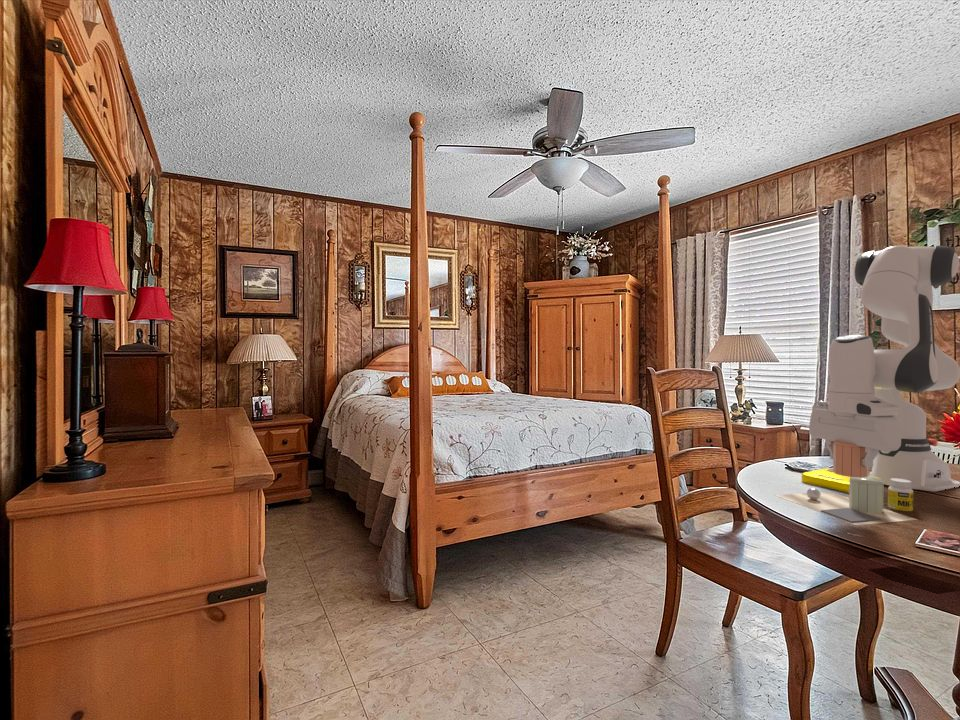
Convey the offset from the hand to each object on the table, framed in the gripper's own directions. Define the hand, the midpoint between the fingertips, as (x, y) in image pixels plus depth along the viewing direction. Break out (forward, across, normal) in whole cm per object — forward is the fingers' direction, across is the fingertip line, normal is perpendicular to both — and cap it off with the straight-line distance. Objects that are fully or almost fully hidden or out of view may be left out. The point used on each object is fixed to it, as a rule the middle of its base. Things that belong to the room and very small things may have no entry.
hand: (850, 463), depth 115 cm
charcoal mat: (+12, 0, 0) cm, 13 cm away
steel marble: (+11, -12, +2) cm, 16 cm away
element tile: (+14, -23, +22) cm, 35 cm away
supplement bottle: (+14, -2, +17) cm, 22 cm away
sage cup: (+12, -3, +8) cm, 15 cm away
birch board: (+14, -6, +4) cm, 16 cm away
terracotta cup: (+3, 0, 0) cm, 3 cm away
